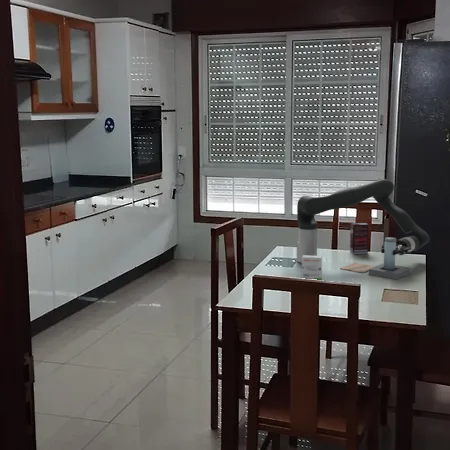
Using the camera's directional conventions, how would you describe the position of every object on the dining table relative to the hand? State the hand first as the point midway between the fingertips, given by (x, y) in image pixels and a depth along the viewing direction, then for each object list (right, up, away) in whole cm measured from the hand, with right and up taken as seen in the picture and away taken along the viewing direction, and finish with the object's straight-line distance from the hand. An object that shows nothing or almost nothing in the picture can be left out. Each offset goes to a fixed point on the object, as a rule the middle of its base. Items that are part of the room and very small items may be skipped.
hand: (387, 251), depth 287 cm
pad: (-10, -8, +14) cm, 19 cm away
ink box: (-36, -13, -9) cm, 40 cm away
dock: (+2, -10, +4) cm, 11 cm away
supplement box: (-4, -3, +46) cm, 46 cm away
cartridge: (+1, -8, +3) cm, 8 cm away
